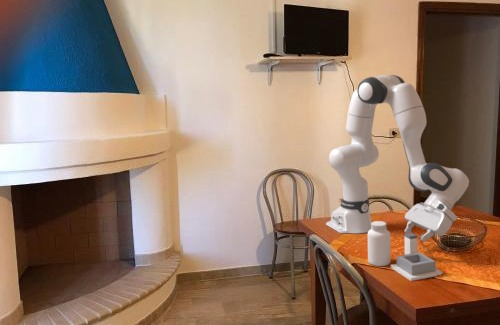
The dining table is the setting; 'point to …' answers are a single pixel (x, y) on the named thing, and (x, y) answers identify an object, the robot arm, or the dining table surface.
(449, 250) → the dining table surface
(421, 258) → the socket
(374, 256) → the pill bottle
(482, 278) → the dining table surface
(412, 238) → the plug
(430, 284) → the dining table surface
